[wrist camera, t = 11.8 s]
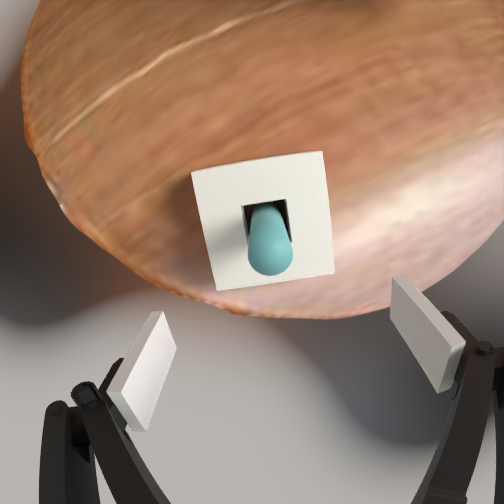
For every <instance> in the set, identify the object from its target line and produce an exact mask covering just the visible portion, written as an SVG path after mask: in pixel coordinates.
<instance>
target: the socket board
mask: <svg viewBox="0 0 504 504" xmlns="http://www.w3.org/2000/svg"><path fill="white" fill-rule="evenodd" d="M191 176H192V181H193V186H194V191H195V195H196V200H197V205H198V210H199V214H200V219H201V224H202V228H203V233H204V237H205V242H206V246H207V250H208V255H209V259H210V263H211V268H212V272H213V276H214V280H215V284H216V288H217V291H220V290H228V289H235V288H242V287H249V286H256V285H263V284H270V283H276V282H283V281H290V280H296V279H302V278H309V277H315V276H321V275H327V274H333V273H335V268H334V254H333V241H332V230H331V219H330V210H329V201H328V192H327V184H326V176H325V168H324V161H323V154H322V151H309V152H301V153H294V154H286V155H279V156H272V157H266V158H259V159H253V160H247V161H241V162H236V163H230V164H225V165H220V166H214V167H209V168H204V169H200V170H196V171H194V172H191ZM281 199H284V204H285V211H286V218H287V225H288V232H287V234H288V237H289V240H290V243H291V246H292V250H293V259H292V262H291V264H290V266H289V267H288V268H287V269H286V270H285V271H284V272H282V273H280V274H278V275H274V276H266V275H262V274H260V273H258V272H256V271H255V270H254V269H253V268H252V267H251V265H250V263H249V260H248V246H249V232H248V226H247V221H246V215H245V210H244V205H250V204H256V203H262V202H268V201H275V200H281Z"/></svg>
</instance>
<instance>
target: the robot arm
mask: <svg viewBox="0 0 504 504" xmlns="http://www.w3.org/2000/svg"><path fill="white" fill-rule="evenodd" d="M390 319H391V320H392V322H393V323H394V325H395V326H396V328H397V329H398V331H399V332H400V334H401V335H402V337H403V338H404V340H405V341H406V343H407V345H408V346H409V348H410V349H411V351H412V352H413V354H414V356H415V357H416V359H417V360H418V362H419V363H420V365H421V367H422V368H423V370H424V372H425V373H426V375H427V377H428V378H429V380H430V382H431V383H432V385H433V387H434V388H435V390H436V392H437V393H440V392H442V391H445V390H447V389H450V388H451V386H452V384H453V381H454V379H455V381H456V382H457V384H458V385H457V388H456V391H455V393H454V396H453V398H452V400H453V402H452V405H451V409H450V412H449V415H448V418H447V421H446V424H445V427H444V430H443V433H442V436H441V438H440V441H439V444H438V446H437V449H436V451H435V454H434V456H433V459H432V461H431V463H430V466H429V468H428V470H427V472H426V475H425V477H424V479H423V481H422V483H421V485H420V487H419V489H418V491H417V493H416V495H415V497H414V499H413V501H412V502H411V504H466V503H467V497H466V492H467V489H468V486H469V483H470V480H471V478H472V475H473V472H474V468H475V465H476V461H477V458H478V455H479V451H480V447H481V444H482V440H483V435H484V431H485V426H486V422H487V417H488V412H489V406H490V400H491V393H492V396H493V405H494V415H495V429H496V483H495V497H494V504H504V347H500V348H494V346H493V345H492V344H490V343H489V342H486V341H477V339H476V338H475V337H474V336H473V335H472V334H471V333H470V332H469V331H468V330H467V328H466V327H464V326H463V324H462V323H461V322H459V320H458V319H457V318H456V317H455V316H454V315H453V314H451V313H449V312H447V311H443V312H439V311H438V310H437V309H436V308H435V307H434V305H432V303H431V302H430V301H429V300H428V299H427V298H426V297H425V296H424V295H423V294H422V293H421V292H420V291H419V290H418V289H417V288H416V287H415V286H414V285H413V284H412V283H411V282H410V281H409V280H408V279H407V278H406V277H405V276H404V275H400V276H395V277H392V292H391V309H390ZM176 349H177V348H176V345H175V343H174V340H173V337H172V335H171V332H170V329H169V326H168V324H167V321H166V318H165V315H164V312H163V311H157V312H151V313H150V315H149V317H148V318H147V320H146V322H145V324H144V326H143V327H142V329H141V331H140V332H139V334H138V336H137V337H136V339H135V341H134V343H133V344H132V346H131V348H130V349H129V351H128V353H127V355H126V357H125V358H119V360H117V361H116V362H115V363H114V364H113V365H112V367H111V369H110V370H109V372H108V374H107V375H106V378H105V379H104V381H103V383H102V384H101V386H100V388H99V390H98V389H97V388H96V386H95V384H94V383H92V382H89V381H88V382H82V383H80V384H78V385H76V386H75V387H74V388H73V390H72V392H71V397H72V399H73V400H74V402H75V403H76V404H77V406H75V407H68V406H67V404H66V403H65V402H64V401H61V400H60V401H55V402H53V403H51V404H50V405H49V406H48V407H47V409H46V412H45V418H44V426H43V435H42V445H41V456H40V473H39V504H100V498H99V492H98V485H97V476H96V467H95V456H96V458H97V461H98V463H99V466H100V468H101V470H102V473H103V475H104V478H105V480H106V482H107V484H108V486H109V489H110V491H111V493H112V495H113V497H114V499H115V501H116V503H117V504H171V503H170V502H169V500H168V499H167V497H166V496H165V495H164V493H163V492H162V490H161V489H160V487H159V486H158V484H157V483H156V481H155V480H154V478H153V476H152V475H151V473H150V472H149V470H148V468H147V467H146V465H145V463H144V462H143V460H142V458H141V457H140V455H139V453H138V452H137V449H136V448H135V446H134V444H133V442H132V440H131V439H130V437H129V435H128V433H127V432H126V430H125V427H126V425H127V424H128V425H129V427H130V428H131V429H132V431H139V432H147V430H148V427H149V424H150V421H151V418H152V415H153V412H154V409H155V407H156V404H157V401H158V398H159V395H160V393H161V390H162V387H163V384H164V381H165V379H166V376H167V373H168V370H169V368H170V365H171V362H172V359H173V357H174V354H175V352H176ZM94 453H95V456H94Z"/></svg>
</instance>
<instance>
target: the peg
mask: <svg viewBox="0 0 504 504" xmlns="http://www.w3.org/2000/svg"><path fill="white" fill-rule="evenodd" d="M292 259H293V250H292V246H291V243H290V240H289V237H288V234H287V231H286V228H285V225H284V222H283V219H282V216H281V213H280V210H279V208H278V207H277V206H276V205H275V204H274V203H272V202H262V203H259V204H257V205H256V206H255V207H254V209H253V211H252V218H251V227H250V236H249V246H248V260H249V263H250V265H251V267H252V268H253V269H254V270H255V271H256V272H258V273H260V274H262V275H266V276H274V275H278V274H280V273H282V272H284V271H285V270H286V269H287V268H288V267H289V266H290V264H291V262H292Z"/></svg>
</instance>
